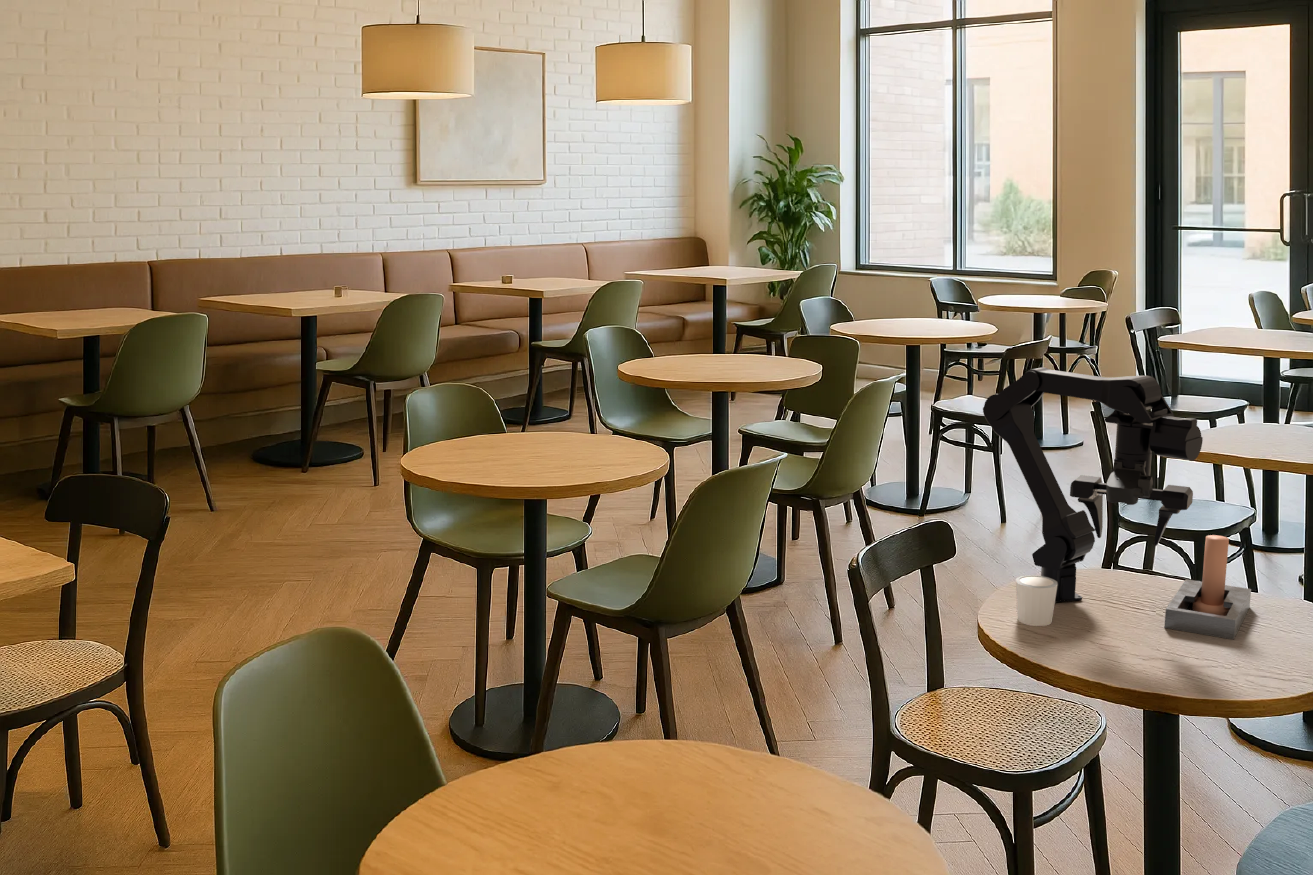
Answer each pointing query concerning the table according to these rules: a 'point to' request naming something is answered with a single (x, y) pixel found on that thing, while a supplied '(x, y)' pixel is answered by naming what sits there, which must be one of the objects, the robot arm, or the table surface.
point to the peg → (1213, 577)
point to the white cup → (1035, 599)
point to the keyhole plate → (1207, 622)
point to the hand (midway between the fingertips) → (1127, 541)
